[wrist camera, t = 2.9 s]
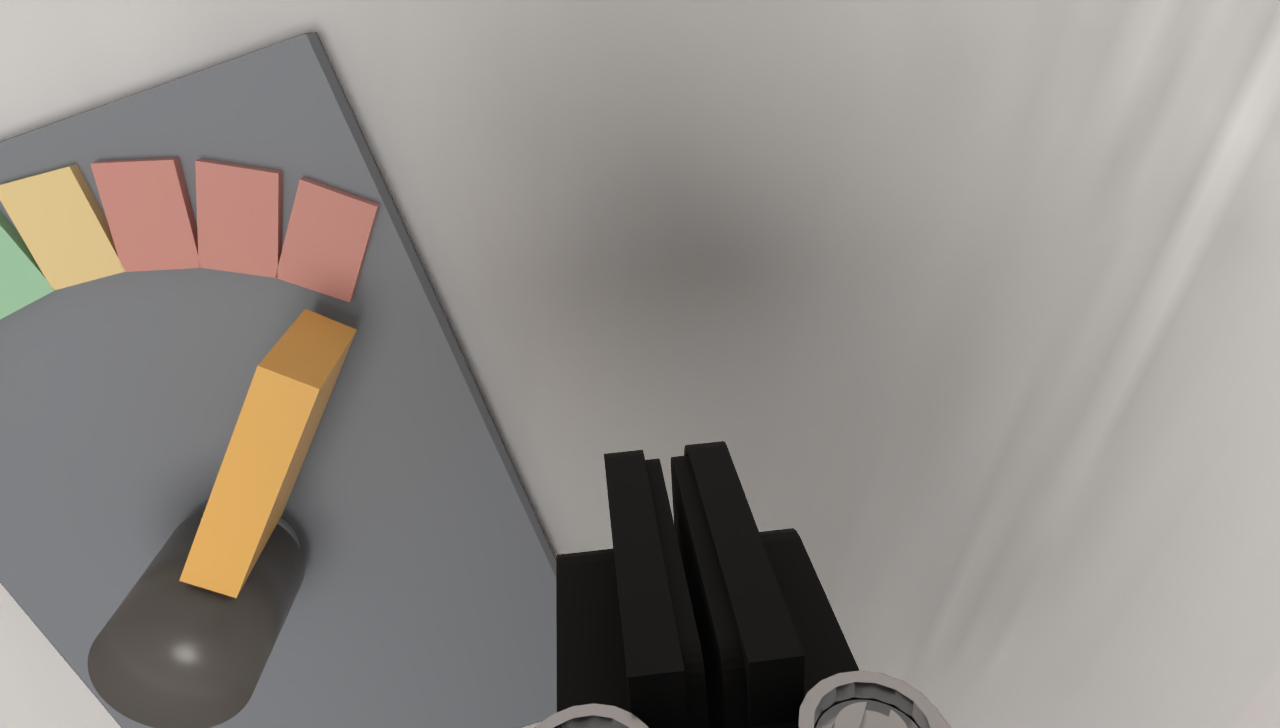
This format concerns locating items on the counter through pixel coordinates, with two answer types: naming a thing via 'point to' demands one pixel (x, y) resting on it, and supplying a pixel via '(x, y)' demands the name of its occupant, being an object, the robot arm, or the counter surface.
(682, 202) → the counter surface
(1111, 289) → the counter surface
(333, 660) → the dial board
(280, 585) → the dial knob with pointer
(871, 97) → the counter surface
